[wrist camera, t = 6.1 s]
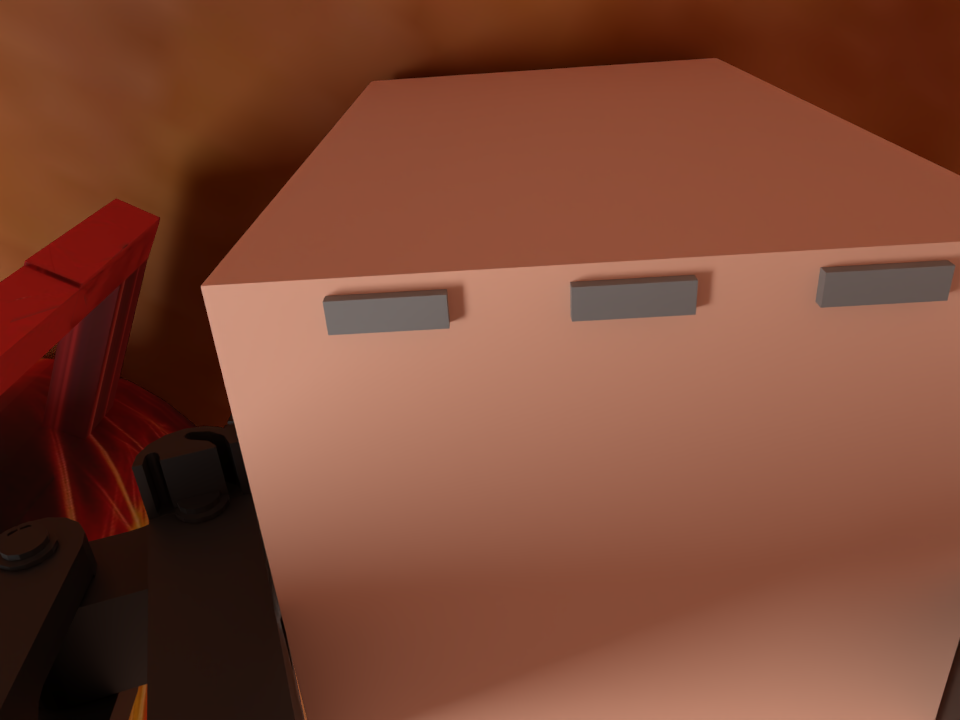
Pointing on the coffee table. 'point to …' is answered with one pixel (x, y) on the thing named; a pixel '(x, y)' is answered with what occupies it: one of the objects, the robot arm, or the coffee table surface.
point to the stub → (604, 403)
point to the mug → (78, 382)
